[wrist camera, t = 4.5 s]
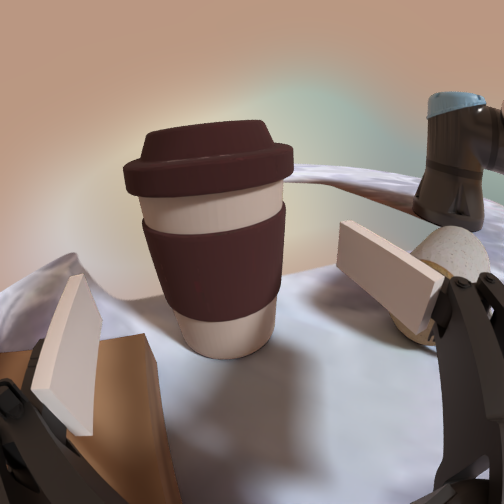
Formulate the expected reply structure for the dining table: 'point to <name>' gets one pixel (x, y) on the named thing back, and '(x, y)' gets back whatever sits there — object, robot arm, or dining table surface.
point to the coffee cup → (215, 229)
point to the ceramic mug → (449, 265)
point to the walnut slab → (122, 421)
